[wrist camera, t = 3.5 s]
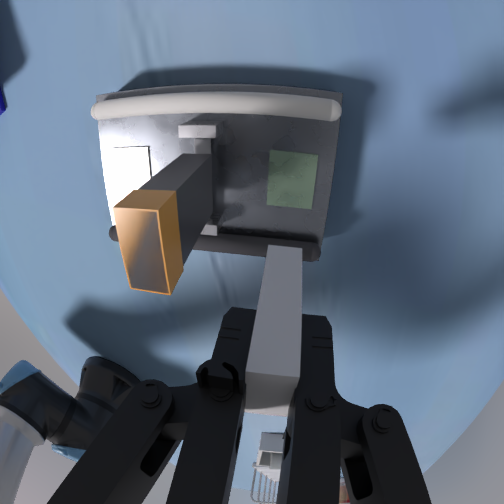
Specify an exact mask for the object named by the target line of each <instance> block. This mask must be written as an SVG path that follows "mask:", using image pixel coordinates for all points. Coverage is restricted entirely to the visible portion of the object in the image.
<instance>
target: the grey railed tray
mask: <svg viewBox="0 0 504 504" xmlns="http://www.w3.org/2000/svg"><path fill="white" fill-rule="evenodd" d="M179 113H238V114H260V115H275V116H287V117H298V118H307V119H316V120H324V121H335V120H337V119H338V118H339V117H340V116H341V113H342V109H341V106H340V104H339V103H338V102H337V101H335V100H332V99H326V98H318V97H310V96H300V95H290V94H277V93H260V92H183V93H166V94H154V95H143V96H134V97H126V98H118V99H111V100H105V101H99V102H96V103H95V104H94V105H93V106H92V108H91V115H92V117H93V118H94V119H96V120H103V119H111V118H120V117H130V116H142V115H157V114H179ZM109 236H110V238H111V239H112V240H113V241H117V242H119V239H118V235H117V230H116V225H113V226H112V227H111V228H110V230H109ZM268 245H276V246H285V247H295V248H302V261H310V262H313V261H316V260H317V259H318V258H319V257H320V254H321V249H320V247H319V246H318V245H317V244H316V243H313V242H304V241H295V240H285V239H275V238H265V237H254V236H244V235H234V234H223V233H218V235H217V236H214V235H203V234H200V236H199V238H198V240H197V241H196V243H195V245H194V247H193V250H203V251H212V252H222V253H231V254H241V255H251V256H261V257H266V255H267V250H268Z"/></svg>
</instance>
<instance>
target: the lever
mask: <svg viewBox="0 0 504 504" xmlns="http://www.w3.org/2000/svg"><path fill="white" fill-rule="evenodd" d="M112 209H113V215H114V220H115V225H116V230H117V235H118V239H119V244H120V249H121V253H122V257H123V261H124V266H125V270H126V274H127V278H128V281H129V285H130V289H135V290H141V291H147V292H153V293H159V294H166V295H171V294H172V292H173V290H174V288H175V286H176V284H177V282H178V280H179V278H180V276H181V274H182V272H183V270H184V269H183V266H184V264H185V262H186V260H187V258H188V256H189V254H190V252H191V251H192V249H193V247H194V245H195V243H196V241H197V240H198V238H199V236H200V234H201V232H202V230H203V229H204V227H205V225H206V223H207V222H208V220H209V218H210V216H211V214H212V213H213V191H212V154H211V138H195V139H194V154H189V153H183V154H181V155H180V156H179V157H177V158H176V159H175V160H173V161H172V162H171V163H170V164H168V165H167V166H166V167H164V168H163V169H162V170H161V171H159V172H158V173H157V174H155V175H154V176H153V177H152V178H151V179H149V180H148V181H147V182H146V183H144V184H143V185H142V186H141V187H140V188H138V189H133V190H132V191H131V192H130V193H129V194H127V195H126V196H125V197H124V198H123V199H121V200H120V201H119V202H118V203H117V204H116V205H114V206H113V207H112Z"/></svg>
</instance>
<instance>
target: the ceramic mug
mask: <svg viewBox="0 0 504 504" xmlns="http://www.w3.org/2000/svg"><path fill="white" fill-rule="evenodd" d="M281 462H282V453H274V452H270V464H269V469H281Z"/></svg>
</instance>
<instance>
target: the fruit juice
mask: <svg viewBox="0 0 504 504" xmlns="http://www.w3.org/2000/svg"><path fill="white" fill-rule="evenodd" d="M339 504H350V501H349V496H348V492H347V488H346V484H345V480H344V477H343V478H340V496H339Z"/></svg>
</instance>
